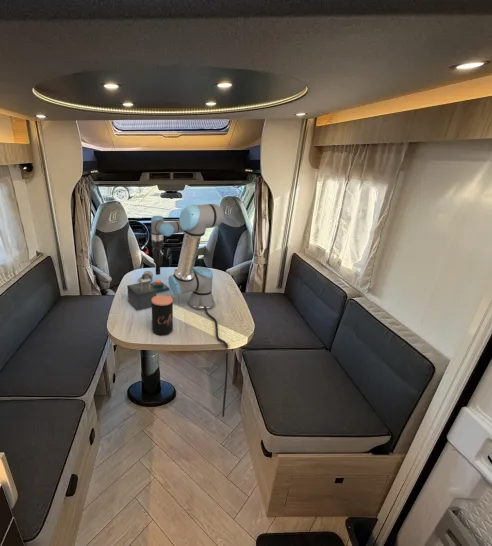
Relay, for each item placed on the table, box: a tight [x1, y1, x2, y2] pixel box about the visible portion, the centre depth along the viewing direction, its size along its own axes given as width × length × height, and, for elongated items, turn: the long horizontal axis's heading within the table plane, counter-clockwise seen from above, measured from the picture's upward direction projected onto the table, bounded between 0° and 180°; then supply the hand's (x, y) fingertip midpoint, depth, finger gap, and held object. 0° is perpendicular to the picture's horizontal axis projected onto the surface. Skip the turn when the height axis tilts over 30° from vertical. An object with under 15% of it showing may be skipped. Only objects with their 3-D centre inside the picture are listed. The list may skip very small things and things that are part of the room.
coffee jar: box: [151, 294, 174, 337], centre depth 157 cm, size 11×11×18 cm
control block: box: [150, 281, 170, 294], centre depth 210 cm, size 12×10×4 cm
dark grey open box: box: [126, 286, 158, 311], centre depth 188 cm, size 15×13×10 cm
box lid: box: [126, 278, 157, 296], centre depth 185 cm, size 16×13×8 cm
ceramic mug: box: [137, 270, 154, 284], centre depth 222 cm, size 11×8×8 cm
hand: (158, 274), depth 207 cm, fingers closed
